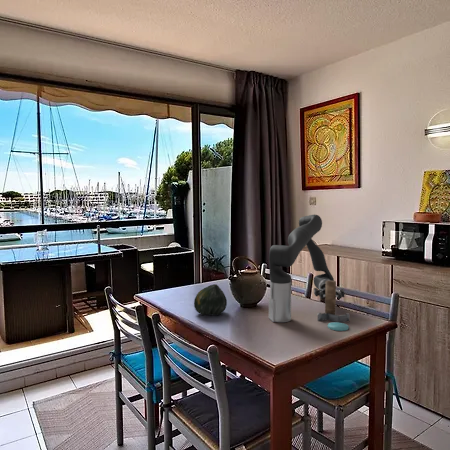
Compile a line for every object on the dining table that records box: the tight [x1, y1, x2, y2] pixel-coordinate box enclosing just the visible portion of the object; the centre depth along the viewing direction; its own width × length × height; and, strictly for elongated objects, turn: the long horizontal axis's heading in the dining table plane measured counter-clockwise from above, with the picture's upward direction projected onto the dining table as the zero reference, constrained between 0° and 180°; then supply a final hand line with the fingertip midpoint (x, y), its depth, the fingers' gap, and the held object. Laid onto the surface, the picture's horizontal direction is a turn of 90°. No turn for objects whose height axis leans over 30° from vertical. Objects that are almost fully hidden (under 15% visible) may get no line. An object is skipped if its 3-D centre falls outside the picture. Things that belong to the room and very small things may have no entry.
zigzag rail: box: [317, 312, 350, 323], centre depth 170 cm, size 14×5×3 cm, turn 86°
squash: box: [193, 283, 228, 316], centre depth 180 cm, size 14×15×15 cm
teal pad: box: [327, 321, 349, 332], centre depth 161 cm, size 8×8×1 cm
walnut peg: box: [324, 280, 337, 315], centre depth 176 cm, size 5×5×16 cm
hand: (331, 296), depth 174 cm, fingers open, 7 cm apart
